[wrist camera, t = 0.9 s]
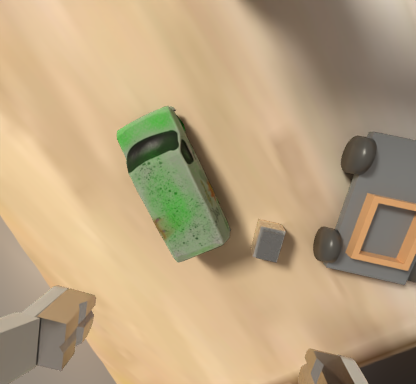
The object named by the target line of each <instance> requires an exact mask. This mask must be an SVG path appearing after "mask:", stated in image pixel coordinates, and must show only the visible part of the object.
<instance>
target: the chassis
mask: <svg viewBox="0 0 416 384" xmlns="http://www.w3.org/2000/svg"><path fill="white" fill-rule="evenodd" d="M341 167H342V170H343V171H344V172H346V173H351V174H354V176H353V179H352V182H351V185H350V188H349V191H348V194H347V196H346V199H345V202H344V205H343V208H342V211H341V214H340V216H339V219H338V222H337V225H336V228H335V229H332V228H327V227H321V228H320V229H319V230H318V232H317V233H316V236H315V239H314V245H313V251H314V256H315V258H316V259H317V260H319V261H323V264H324V265H325V266H326V267H327V268H332V269H336V270H341V271H345V272H350V273H354V274H358V275H363V276H367V277H372V278H376V279H380V280H385V281H389V282H394V283H398V284H403V285H405V284H406V282H407V280H408V281H412V282H416V140H411V139H407V138H402V137H397V136H392V135H387V134H382V133H377V132H369V134H368V137H362V136H355V137H353V138H352V139H351V140H350V141H349V142H348V144H347V145H346V147H345V149H344V152H343V155H342V159H341Z"/></svg>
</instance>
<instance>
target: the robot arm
mask: <svg viewBox="0 0 416 384" xmlns="http://www.w3.org/2000/svg"><path fill="white" fill-rule="evenodd" d="M95 303H96V297H95V295H92V294H88V293H85V292H81V291H78V290H74V289H69V288H66V287H62V286H58V285H57V286H54V287H52V288H51V289H50V290H49V291H47V292H46V293H45V294H44V295H42V296H41V297H40V298H39V299H37V300H36V301H35V302H34V303H33V304H31V305H30V306H29V307H28V308H26V309H25V310H24V311H23V312H21V313H18V312H15V313H13V314H9V315H6V316H3V317H1V318H0V384H9V383H11V382H12V381H14V380H15V379H17V378H19V377H20V376H22V375H24V374H25V373H27V372H29V371H30V370H32V369H33V368H35V367H36V365H38V366H42V367H46V368H51V369H55V370H60V371H62V369H63V368H64V367H65V365H66V364H67V363H68V361H69V360H70V359H71V357H72V356H73V355H74V352H75V346H77V345H79V344H81V343H82V342H83V341H84V340H85V338H86V337H87V335H88V333H89V331H90V329H91V326H92V323H93V318H94V314H93V312H92V311H91V310H92V308H93V307H94V306H95ZM305 359H306V362H307V364H305V365H304V366H302V367H301V369H300V372H299V380H298V384H368V382H367V381H366V379H365V377H364V375H363V374H362V372H361V370H360V369H359V367H358V365H357V364H356V362H355V361H354V360H353V359H352V358H350V357H345V356H341V355H335V354H331V353H326V352H322V351H318V350H314V349H309V350H308V351H307V352H306V355H305Z"/></svg>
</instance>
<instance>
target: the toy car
mask: <svg viewBox="0 0 416 384" xmlns="http://www.w3.org/2000/svg"><path fill="white" fill-rule="evenodd" d="M174 111H176V110H175V108H174V107H169V106H166V107H163V108H160V109H158V110H156V111H153V112H151V113H149V114H147V115H145V116H143V117H140V118H139V119H137V120H135V121H133V122H131V123H129V124H128V125H126V126H124V127H123V128H121V129H120V130H118V131H117V140H118V142H119V144H120V146H121V149H122V151H123V153H124V155H125V157H126V160H127V161H126V164H127V168H128V173H129V175H130V177H131V179H132V181H133V183H134V185H135V187H136V190H137V191H138V193H139V195H140V197H141V199H142V201H143V202H144V204H145V206H146V208H147V210H148V212H149V214H150V215H151V217H152V219H153V221H154V223H155V225H156V227H157V229H158V231H159V233H160V234H161V236H162V238H163V240H164V241H165V243H166V245H167V247H168V248H169V250H170V252H171V254H172V255H173V257H174V259H175V260H176V261H177V262H182V261H185V260H187V259H190V258H192V257H195V256H197V255H199V254H202V253H205V252H207V251H210V250H212V249H215V248H217V247H220V246H222V245H223V244H224V243H225V242H226V241H227V240H228V239H229V237H230V231H231V229H230V227H229V225H228V222H227V220H226V218H225V216H224V214H223V212H222V209H221V207H220V205H219V202H218V200H217V198H216V195H215V193H214V191H213V189H212V187H211V185H210V183H209V181H208V179H207V177H206V175H205V173H204V170H203V168H202V166H201V164H200V162H199V160H198V158H197V156H196V154H195V152H194V150H193V148H192V146H191V144H190V142H189V140H188V138H187V136H186V132H185V128H184V124H183V123H182V121H181V120H180V119H179V118H178V116H177V115H176V114H175V112H174Z"/></svg>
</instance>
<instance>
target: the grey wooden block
mask: <svg viewBox="0 0 416 384" xmlns="http://www.w3.org/2000/svg"><path fill="white" fill-rule="evenodd" d="M285 233H286V231H285V229H284V228H283V226H282V224H279V223H275V222H270V221H266V220H261V219H258V222H257V226H256V230H255V233H254V237H253V241H252V245H251V251H252V255H253V257H256V258H259V259H263V260H268V261H272V262H277V260H278V256H279V253H280V250H281V246H282V243H283V240H284V236H285Z"/></svg>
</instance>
